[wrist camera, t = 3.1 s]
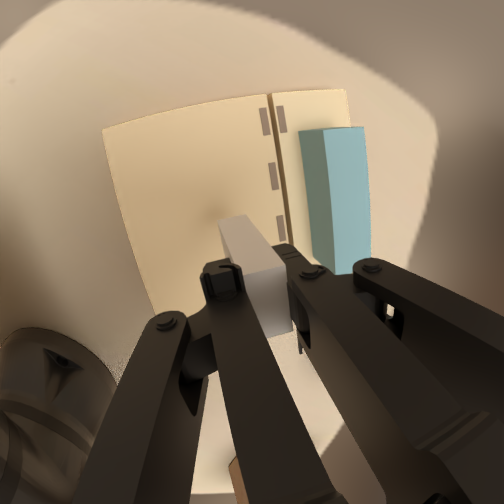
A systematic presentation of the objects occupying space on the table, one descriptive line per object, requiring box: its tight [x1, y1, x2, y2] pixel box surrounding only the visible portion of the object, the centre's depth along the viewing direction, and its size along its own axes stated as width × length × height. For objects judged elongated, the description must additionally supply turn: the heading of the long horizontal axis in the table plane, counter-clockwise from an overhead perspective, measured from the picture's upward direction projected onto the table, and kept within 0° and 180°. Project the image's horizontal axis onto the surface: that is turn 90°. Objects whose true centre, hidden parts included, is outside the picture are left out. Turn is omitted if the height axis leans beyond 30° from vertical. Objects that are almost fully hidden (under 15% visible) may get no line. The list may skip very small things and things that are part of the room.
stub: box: [267, 89, 371, 275], centre depth 21 cm, size 6×16×6 cm, turn 9°
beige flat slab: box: [102, 94, 289, 317], centre depth 22 cm, size 12×16×3 cm
